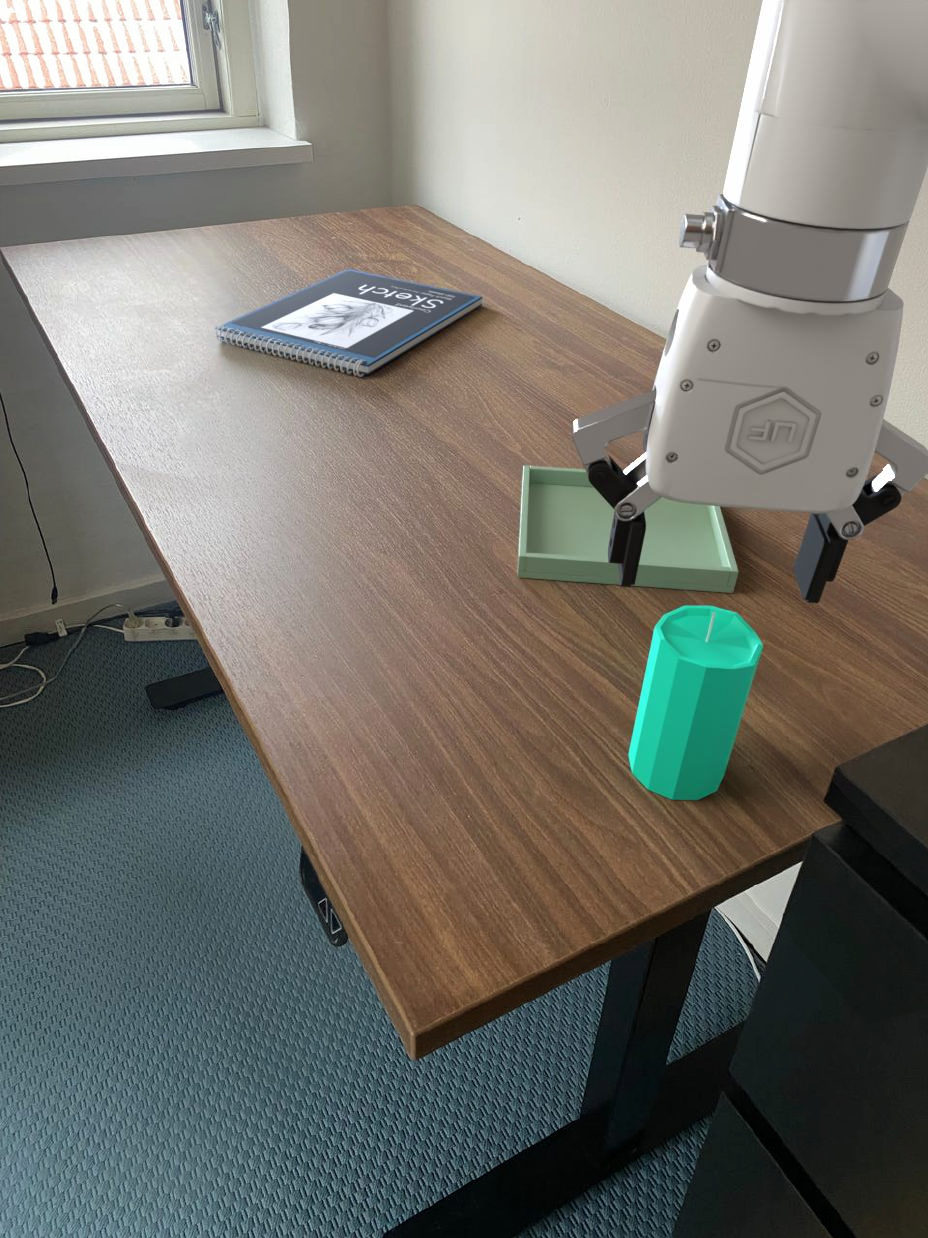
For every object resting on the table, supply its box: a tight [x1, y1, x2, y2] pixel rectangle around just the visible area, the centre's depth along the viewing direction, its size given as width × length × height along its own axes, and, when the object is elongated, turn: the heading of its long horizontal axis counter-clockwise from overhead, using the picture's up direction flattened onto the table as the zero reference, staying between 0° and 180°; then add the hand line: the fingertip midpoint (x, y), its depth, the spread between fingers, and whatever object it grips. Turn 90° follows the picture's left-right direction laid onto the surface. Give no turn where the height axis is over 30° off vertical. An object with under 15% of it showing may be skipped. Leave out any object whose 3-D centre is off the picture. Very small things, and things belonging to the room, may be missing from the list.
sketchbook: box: [215, 268, 483, 378], centre depth 118 cm, size 22×30×2 cm
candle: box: [628, 605, 764, 801], centre depth 55 cm, size 6×6×12 cm
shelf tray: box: [516, 465, 739, 594], centre depth 79 cm, size 17×15×2 cm
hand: (714, 580), depth 50 cm, fingers open, 9 cm apart
